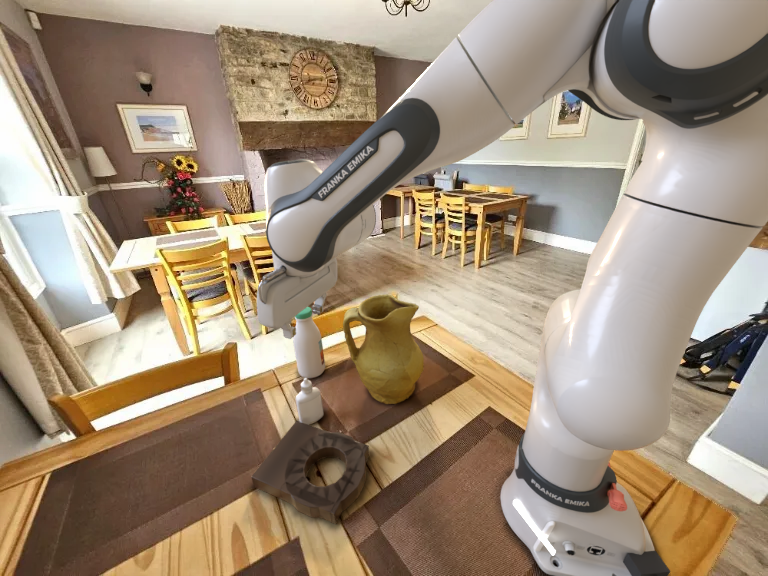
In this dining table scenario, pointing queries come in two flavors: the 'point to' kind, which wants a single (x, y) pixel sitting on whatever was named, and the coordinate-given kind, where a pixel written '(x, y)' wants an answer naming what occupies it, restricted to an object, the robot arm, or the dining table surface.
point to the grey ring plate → (295, 458)
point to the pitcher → (385, 348)
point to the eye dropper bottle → (309, 403)
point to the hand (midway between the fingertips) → (305, 323)
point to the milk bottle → (308, 345)
